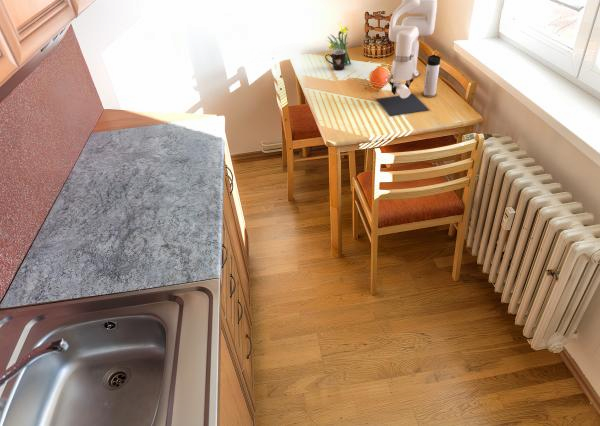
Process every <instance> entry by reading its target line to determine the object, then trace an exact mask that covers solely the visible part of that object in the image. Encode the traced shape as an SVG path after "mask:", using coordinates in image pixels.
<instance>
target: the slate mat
mask: <svg viewBox="0 0 600 426" xmlns="http://www.w3.org/2000/svg"><path fill="white" fill-rule="evenodd" d="M376 101H377V102H378V103H379V104H380V105H381V107H382V108H383V109H384V110H385V111H386V113H387V114H388V115H389V116H390V117H393V116H399V115H405V114H413V113H419V112H420V113H421V112H426V111H427V112H428V111H430V109H429V108H428V107H427V106H426V105H425V104H424V103H423V102H422V101H421V100H420V99H419V98H418V97H417V96H416V95H415V94H413V93H410V95H409V96H408V97H407V98H401V97H400V96H399V95H394V96H386V97H380V98H376Z"/></svg>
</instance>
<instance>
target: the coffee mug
mask: <svg viewBox="0 0 600 426" xmlns="http://www.w3.org/2000/svg"><path fill="white" fill-rule="evenodd" d="M330 53H331V54H330ZM330 53H327V54H325V56H324V58H325V60H326V61H327V62H328V63H329V64H331V65H332V69H333V70H334V71H342V70H344V69H345V54H346V51H345V50H341V49H338V50H333V49H332V50H331V52H330ZM327 56H330V57H331V60H332V61H330V60H328V59H327Z"/></svg>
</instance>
